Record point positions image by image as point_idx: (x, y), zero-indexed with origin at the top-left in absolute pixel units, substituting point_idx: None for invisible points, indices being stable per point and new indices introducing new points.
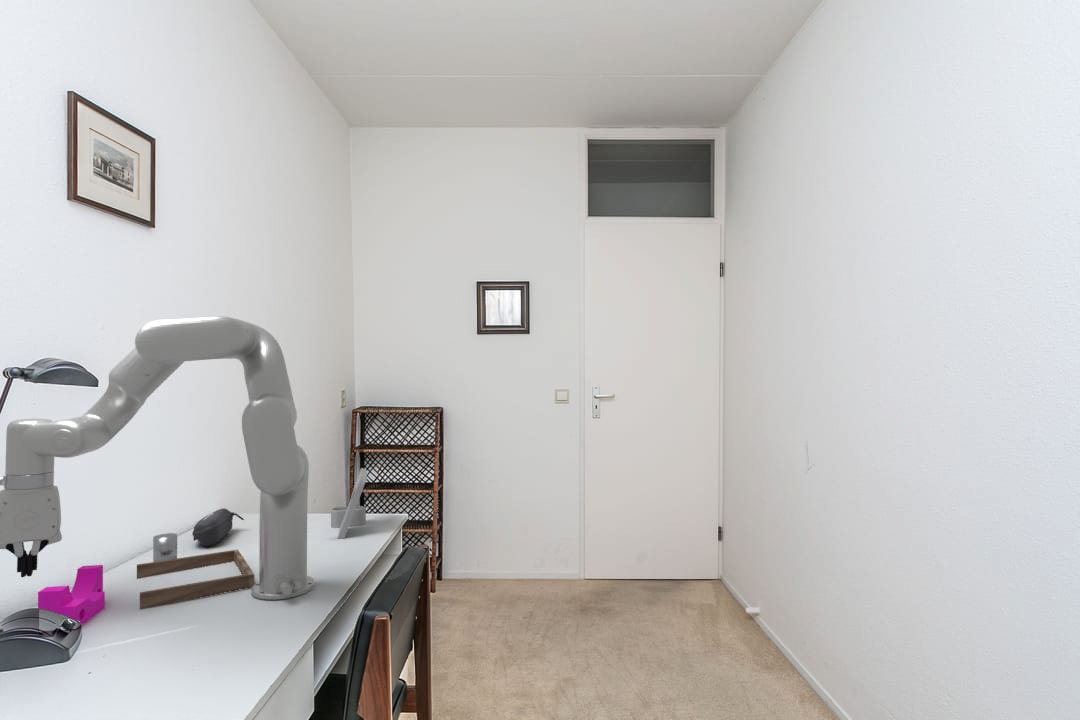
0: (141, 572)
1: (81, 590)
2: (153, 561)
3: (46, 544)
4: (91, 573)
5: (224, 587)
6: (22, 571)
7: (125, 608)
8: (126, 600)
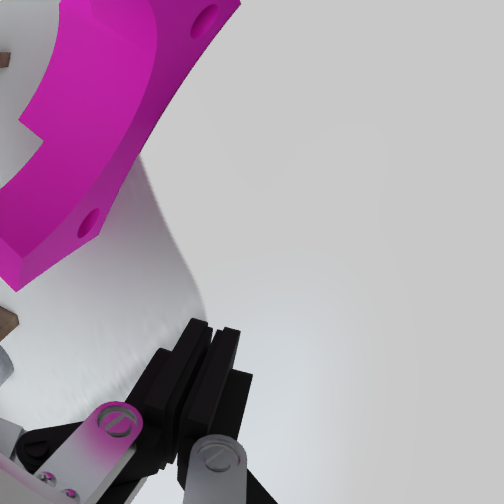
0: (1, 319)
1: (61, 170)
2: (4, 369)
3: (35, 435)
4: (1, 211)
5: None
6: (226, 347)
7: (26, 78)
8: (17, 151)
